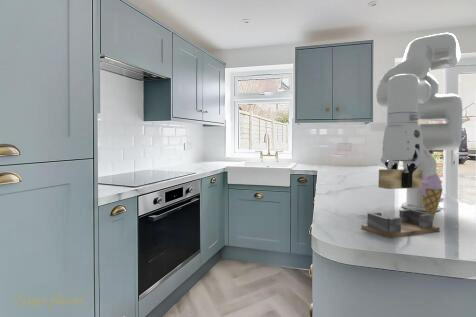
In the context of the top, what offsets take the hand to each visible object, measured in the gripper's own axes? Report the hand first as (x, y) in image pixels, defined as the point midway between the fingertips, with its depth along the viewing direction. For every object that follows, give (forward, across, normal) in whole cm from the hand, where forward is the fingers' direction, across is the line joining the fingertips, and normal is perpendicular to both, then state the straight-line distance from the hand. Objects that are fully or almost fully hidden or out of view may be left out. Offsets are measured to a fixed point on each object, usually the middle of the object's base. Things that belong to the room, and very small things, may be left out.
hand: (400, 185), depth 86 cm
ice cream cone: (+12, +6, -20) cm, 24 cm away
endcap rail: (+12, 0, -1) cm, 12 cm away
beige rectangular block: (+1, 0, 0) cm, 1 cm away
